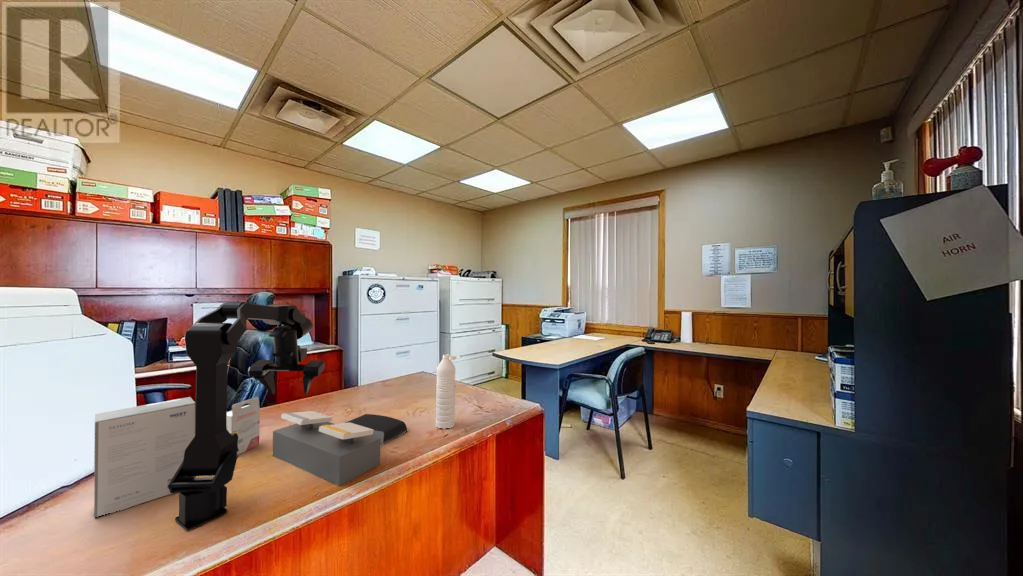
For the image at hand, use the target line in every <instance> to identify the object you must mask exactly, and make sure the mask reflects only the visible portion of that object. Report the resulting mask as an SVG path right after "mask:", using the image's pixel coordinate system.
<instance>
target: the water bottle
mask: <svg viewBox="0 0 1023 576" xmlns="http://www.w3.org/2000/svg"><path fill="white" fill-rule="evenodd" d="M454 360H457V355H451V354H448V353H446V354H442V359H441V360H440V362H439V364H438V365H437V367H436V389H435V390H436V391H435V393H436V394H435V395H436V397H435V398H436V399H435V402H436V403H435V413H436V414H435V428H437V427H438V428H448V427H451V426H453V425H454V424H456V421H455V420H456V418H455V417H456V416H455V415H456V413H455V412H456V408H455V406H456V402H455V401H456V397H455V396H456V365H455V364H454V363H453V361H454ZM454 426H455V425H454ZM438 428H437V429H438Z"/></svg>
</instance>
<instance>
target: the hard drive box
mask: <svg viewBox="0 0 1023 576" xmlns="http://www.w3.org/2000/svg"><path fill="white" fill-rule="evenodd" d="M195 419H196V401H195V400H194V399H193V398H192V397H191V396H188V397H181V398H176V399H171V400H166V401H160V402H155V403H153V402H152V403H148V404H143V405H142V404H141V405H137V406H132V407H128V408H119V409H115V410H110V411H106V412H99V413H95V415H94V457H93V458H94V460H93V462H94V463H93V464H94V465H93V466H94V471H93V473H94V475H93V477H94V484H93V485H94V492H93V493H94V494H93V495H94V498H93V500H94V501H93V502H94V504H93V505H94V507H93V518H94V517H98V516H101V515H104V516H106V515H105V514H107V515H109V514H108V513H110V514H114V513H116V511H117V512H120V511H124V510H126V509H128V508H132V507H135V506H138V505H140V504H143V503H148V502H149V501H153V500H156V499H160V498H163V497H166V496H170V495H172V494H174V493H170V491H169V488H168V485H169V483H170V481H171V480H172V478H173V477H174V475H175V473H176V472H177V470H178V468H179V467H180V465H181V464H182V462H183V459H184V452H185V449H186V448H187V446H188V445H189V444H190V442H191V441H192V439H193V438H194V437H195ZM194 478H196V476H194ZM119 510H120V511H119ZM101 517H102V516H101ZM98 518H99V517H98Z"/></svg>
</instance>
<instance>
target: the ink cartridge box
mask: <svg viewBox="0 0 1023 576" xmlns="http://www.w3.org/2000/svg"><path fill="white" fill-rule="evenodd" d="M245 404H247V405H245ZM260 412H261V410H260V397H259V396H255V397H251V398H250V399H246V400H242V401H239V402H237V403H233V404H232V406H231V410H229V411H227V421H226V428H227V430H228V432H229V433H237V435H238V450H239V451H238V452H237V456H238V455H241V454H243V453H245V452H246V451H248V450H250V449H253V448H255V447H257V446H259V445H260V431H261V430H260V428H261V427H260V425H261V424H260V423H261V422H260V420H261V418H260V416H261V415H260V414H261V413H260Z"/></svg>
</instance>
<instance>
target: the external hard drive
mask: <svg viewBox="0 0 1023 576" xmlns="http://www.w3.org/2000/svg"><path fill="white" fill-rule="evenodd" d="M349 422H350V423H353V424H357V425H360V426H363V427H367V428H370V429H373V430H374V431H373V434H372V436H375V437H378V438H381V445H380V446H383V444H384V445H385V444H387V443H389V442H390V440H391V441H392V439H393V440H395V439H396V438H398V437H400V436H401V434H402V433H403V434H405V433H406V432H405V431H407V430H408V431H409V429H408V426H407V425H406V423H405V422H404V421H402V420H401V419H398V418H394V417H391V416H386V415H380V414H373V413H371V414H370V413H365V414H363V415H360V416H358V417H356V418H352V419H350V420H347V421H345V422H344V423H349ZM408 431H407V432H408ZM404 432H405V433H404ZM403 434H402V435H403ZM399 435H400V436H399ZM397 436H398V437H397Z"/></svg>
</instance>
